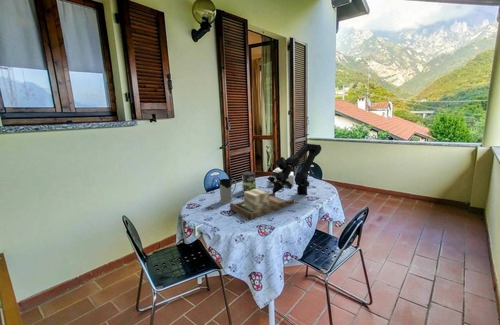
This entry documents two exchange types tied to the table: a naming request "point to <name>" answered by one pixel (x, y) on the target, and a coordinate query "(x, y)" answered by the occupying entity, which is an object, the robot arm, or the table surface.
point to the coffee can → (248, 181)
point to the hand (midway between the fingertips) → (273, 193)
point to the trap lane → (249, 213)
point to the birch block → (256, 199)
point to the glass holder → (226, 190)
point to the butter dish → (291, 176)
